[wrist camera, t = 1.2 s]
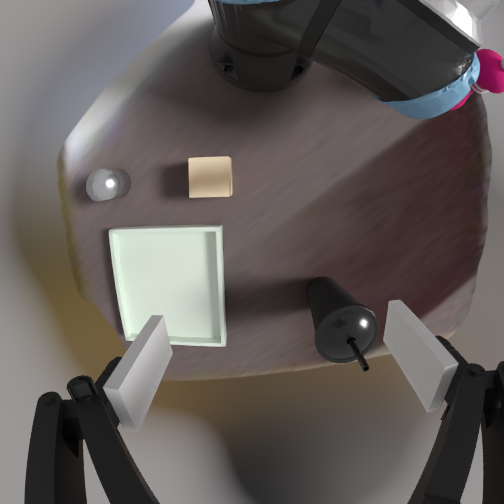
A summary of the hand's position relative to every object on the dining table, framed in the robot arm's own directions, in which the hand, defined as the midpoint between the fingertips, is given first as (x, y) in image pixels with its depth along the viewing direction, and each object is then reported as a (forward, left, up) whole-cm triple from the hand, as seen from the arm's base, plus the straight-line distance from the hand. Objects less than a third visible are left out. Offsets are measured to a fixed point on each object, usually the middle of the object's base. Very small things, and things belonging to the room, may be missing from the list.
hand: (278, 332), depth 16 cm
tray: (+7, -15, -26) cm, 31 cm away
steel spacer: (-9, -22, -26) cm, 35 cm away
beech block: (-9, -7, -27) cm, 29 cm away
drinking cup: (+8, +9, -27) cm, 29 cm away
